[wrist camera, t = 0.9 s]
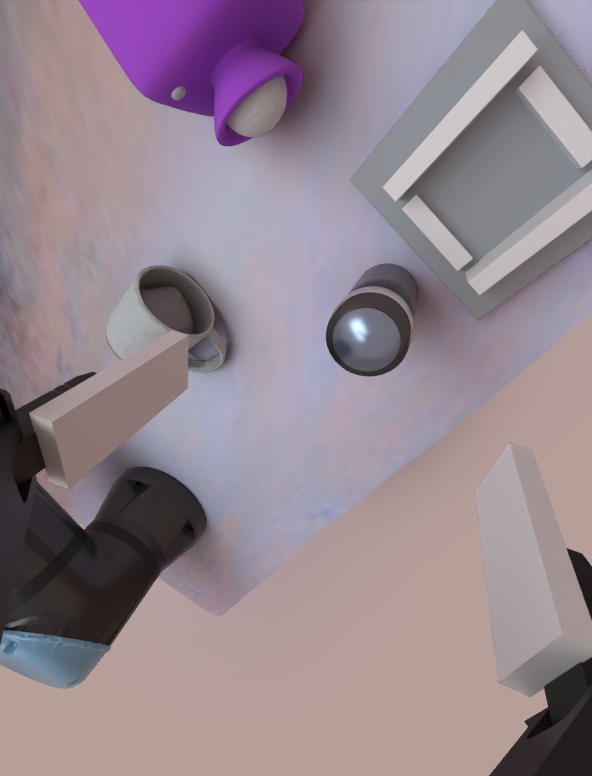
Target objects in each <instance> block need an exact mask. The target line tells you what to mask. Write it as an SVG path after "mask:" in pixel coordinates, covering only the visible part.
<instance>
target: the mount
mask: <svg viewBox="0 0 592 776" xmlns="http://www.w3.org/2000/svg"><path fill="white" fill-rule="evenodd" d="M350 181H351V182H352V183H353V184H354V185H355V186H356V187H357V189H358V190H359V191H360V192H361V193H362V194H363V195H364V196H365V197H366V198H367V200H368V201H369V202H370V203H371V204H372V205H373V206H374V207H375V208H376V209H377V211H378V212H379V213H380V214H381V215H382V216H383V217H384V218H385V219H386V220H387V221H388V223H389V224H390V225H391V226H392V227H393V228H394V229H395V230H396V231H397V232H398V234H399V235H400V236H401V237H402V238H403V239H404V240H405V241H406V242H407V243H408V245H409V246H410V247H411V248H412V249H413V250H414V251H415V252H416V253H417V254H418V255H419V257H420V258H421V259H422V260H423V261H424V262H425V263H426V264H427V265H428V266H429V268H430V269H431V270H432V271H433V272H434V273H435V274H436V275H437V276H438V277H439V279H440V280H441V281H442V282H443V283H444V284H445V285H446V286H447V287H448V288H449V289H450V291H451V292H452V293H453V294H454V295H455V296H456V297H457V298H458V299H459V300H460V302H461V303H462V304H463V305H464V306H465V307H466V308H467V309H468V310H469V311H470V313H471V314H472V315H473V316H474V317H475V318H476V319H477V320H478V319H480V318H481V317H482V316H484V315H485V314H487V313H488V312H489V311H491V310H492V309H494V308H495V307H496V306H498V305H499V304H501V303H502V302H503V301H505V300H506V299H508V298H509V297H510V296H512V295H513V294H515V293H516V292H517V291H519V290H520V289H522V288H523V287H524V286H526V285H527V284H529V283H530V282H531V281H533V280H534V279H536V278H537V277H538V276H540V275H541V274H542V273H544V272H545V271H547V270H548V269H549V268H551V267H552V266H554V265H555V264H556V263H558V262H559V261H561V260H562V259H563V258H565V257H566V256H568V255H569V254H570V253H572V252H573V251H575V250H576V249H577V248H579V247H580V246H582V245H583V244H584V243H586V242H587V241H589V240H590V239H591V238H592V86H591V85H590V84H589V82H588V81H587V80H586V79H585V77H584V76H583V75H582V73H581V72H580V71H579V69H578V68H577V67H576V66H575V64H574V63H573V62H572V60H571V59H570V58H569V56H568V55H567V54H566V52H565V51H564V50H563V49H562V47H561V46H560V45H559V43H558V42H557V41H556V39H555V38H554V37H553V36H552V34H551V33H550V32H549V30H548V29H547V28H546V26H545V25H544V24H543V23H542V21H541V20H540V19H539V17H538V16H537V15H536V13H535V12H534V11H533V10H532V8H531V7H530V6H529V4H528V3H527V2H526V0H496V1H495V2H494V4H493V5H492V6H491V7H490V8H489V10H488V11H487V12H486V13H485V15H484V16H483V17H482V18H481V19H480V21H479V22H478V23H477V24H476V26H475V27H474V28H473V29H472V30H471V32H470V33H469V34H468V35H467V37H466V38H465V39H464V40H463V41H462V43H461V44H460V45H459V46H458V48H457V49H456V50H455V51H454V53H453V54H452V55H451V56H450V57H449V59H448V60H447V61H446V62H445V64H444V65H443V66H442V67H441V68H440V70H439V71H438V72H437V73H436V75H435V76H434V77H433V78H432V79H431V81H430V82H429V83H428V84H427V86H426V87H425V88H424V89H423V91H422V92H421V93H420V94H419V95H418V97H417V98H416V99H415V100H414V102H413V103H412V104H411V105H410V106H409V108H408V109H407V110H406V111H405V113H404V114H403V115H402V116H401V117H400V119H399V120H398V121H397V122H396V124H395V125H394V126H393V127H392V129H391V130H390V131H389V132H388V133H387V135H386V136H385V137H384V138H383V140H382V141H381V142H380V143H379V144H378V146H377V147H376V148H375V149H374V151H373V152H372V153H371V154H370V155H369V157H368V158H367V159H366V160H365V162H364V163H363V164H362V165H361V167H360V168H359V169H358V170H357V171H356V173H355V174H354V175H353V176H352V178H351V179H350Z"/></svg>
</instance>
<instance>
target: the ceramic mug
mask: <svg viewBox="0 0 592 776" xmlns="http://www.w3.org/2000/svg"><path fill="white" fill-rule="evenodd" d="M214 322H215V315H214V310H213V307H212V304H211V302H210V300H209V298H208V297H207V295H206V294H205V292H204V291H203V290H202V289H201V287H200V286H199V285H198V284H197V283H196V282H195V281H194V280H192V279H191V278H190V277H189V276H187V275H186V274H184V273H182V272H180V271H179V270H176V269H174V268H171V267H167V266H161V265H156V266H150V267H147V268H145V269H143V270H141V271H140V272H139V273H138V274H137V276H136V277H135V279H134V280H133V282H132V283H131V285H130V287H129V288H128V289H127V291H126V292H125V294H124V295H123V297H122V298H121V300H120V302H119V303H118V305H117V306H116V307H115V309H114V310H113V312H112V313H111V315H110V317H109V319H108V323H107V327H106V338H107V342H108V344H109V346H110V348H111V349H112V351H113V352H114V354H115V355H116V356H117V357H118V358H119V359H120V360H122V359H123V358H125V357H127V356H129V355H130V354H132V353H134V352H135V351H137V350H139V349H141V348H142V347H144V346H146V345H148V344H149V343H151V342H153V341H154V340H156V339H158V338H160V337H161V336H163V335H165V334H167V333H168V332H170V331H172V330H175V331H178V332H181V333H184V334H187V335H189V336H188V350H189V349H191V348H192V347H193V346H194V345H196V344H197V343H198V342H199V341H201V340H202V339H203V338H207V339H209V340H210V341H211V342H212V343H213V344H214V346H215V347H216V348H217V349H218V351H219V355H217V356H216V357H214V358H212V359H210V360H206V361H204V362H203V361H197V360H194V359H191V358H189V357H188V370H190V371H193V372H200V373H204V372H210V371H214V370H216V369H217V368H219V367H220V366H221V365H222V364H223V363H224V360H225V356H226V352H227V348H226V343H225V341H224V339H223V338H222V336H221V335H220V334H219V333H218V332H217V331H216V330H215V329H214V328H213V326H214Z"/></svg>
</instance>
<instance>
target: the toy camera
mask: <svg viewBox="0 0 592 776" xmlns="http://www.w3.org/2000/svg"><path fill="white" fill-rule="evenodd" d="M79 2H80V3H81V5H82V6H83V8H84V9H85V11H86V13H87V14H88V16H89V17H90V19H91V20H92V22H93V24H94V25H95V27H96V28H97V30H98V32H99V33H100V35H101V36H102V38H103V39H104V41H105V43H106V44H107V46H108V47H109V49H110V50H111V52H112V54H113V55H114V57H115V58H116V60H117V61H118V63H119V64H120V66H121V67H122V69H123V70H124V72H125V73H126V75H127V76H128V78H129V79H130V81H131V82H132V83H133V85H134V86H135V87H136V88H137V89H138V90H139V91H140V92H141V93H142V94H143V95H144V96H145V97H147V98H149V99H151V100H153V101H155V102H157V103H160V104H163V105H167V106H170V107H173V108H177V109H180V110H183V111H187V112H192V113H196V114H200V115H205V116H214V122H215V134H216V138H217V141H218V142H219V144H221V145H222V146H234V145H237V144H240V143H243V142H245V141H247V140H249V139H251V138H253V137H257V136H261V135H263V134H265V133H267V132H268V131H270V130H271V129H272V128H273V127H274V126H275V125H276V124H277V123H278V122H279V120H280V118H281V117H282V115H283V113H284V112H285V111H286V109H287V108H288V107H289V106H290V105H291V103H292V102H293V100H294V99H295V97H296V96H297V94H298V92H299V90H300V88H301V85H302V82H303V70H302V69H301V68H300V66H299V65H297V64H296V63H294V62H293V61H291V60H289V59H287V58H285V57H282V56H280V53H281V52H282V51H283V50H284V49H285V48H286V47H287V45H288V44H289V43H290V42H291V41H292V39H293V38H294V37H295V36H296V34H297V33H298V31H299V29H300V28H301V26H302V23H303V20H304V5H303V0H79Z"/></svg>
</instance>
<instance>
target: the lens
mask: <svg viewBox="0 0 592 776" xmlns="http://www.w3.org/2000/svg"><path fill="white" fill-rule="evenodd" d="M416 299H417V287H416V283H415V281H414V279H413V277H412V276H411V275H410V273H409V272H408V271H406V270H405V269H404V268H402V267H400V266H397V265H394V264H381V265H377V266H374V267H372V268H371V269H369V270H368V271H366V272H365V273H364V274H363V275H362V277H361V278H360V279H359V281H358V282H357V283H356V285H355V286H354V287H353V289H352V290H351V291H350V293H349V294H348V295H347V296H346V297H345V298H344V299H343V300H342V301H341V302H340V303H339V305H338V306H337V307H336V309H335V310H334V312H333V314H332V317H331V319H330V321H329V323H328V326H327V331H326V342H327V346H328V349H329V352H330V354H331V355H332V357H333V358H334V360H335V361H336V362H337V363H338V364H339V365H340V366H341V367H342V368H344V369H345V370H347V371H349V372H351V373H354V374H357V375H361V376H377V375H382V374H385V373H387V372H389V371H391V370H393V369H394V368H395V367H397V366H398V365H399V364H400V363H401V362H402V360H403V359H404V357H405V355H406V353H407V351H408V348H409V345H410V343H411V340H412V335H413V326H414V323H413V318H414V311H415V305H416Z"/></svg>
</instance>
